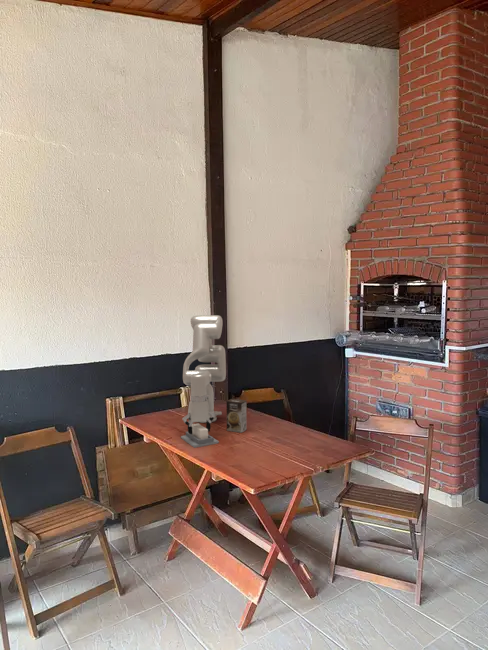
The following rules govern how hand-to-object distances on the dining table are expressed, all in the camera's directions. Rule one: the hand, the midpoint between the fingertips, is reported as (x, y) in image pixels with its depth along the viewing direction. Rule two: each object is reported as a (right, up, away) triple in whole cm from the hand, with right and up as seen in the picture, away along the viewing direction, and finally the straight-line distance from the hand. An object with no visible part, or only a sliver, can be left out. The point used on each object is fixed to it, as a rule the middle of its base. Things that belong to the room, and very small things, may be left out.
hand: (199, 432), depth 263 cm
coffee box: (+18, -3, +17) cm, 25 cm away
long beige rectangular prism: (0, -3, +1) cm, 3 cm away
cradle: (0, -4, 0) cm, 4 cm away
